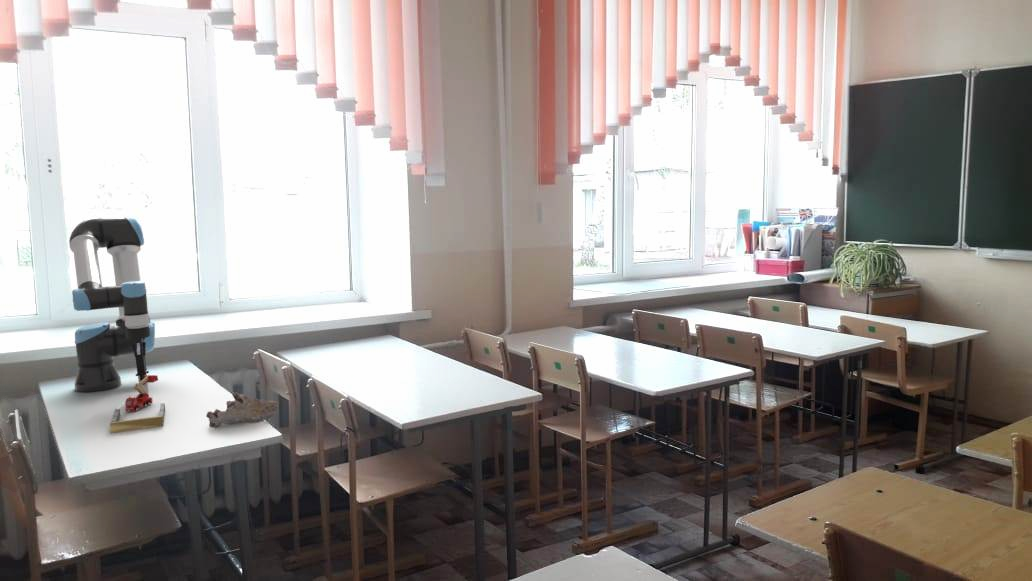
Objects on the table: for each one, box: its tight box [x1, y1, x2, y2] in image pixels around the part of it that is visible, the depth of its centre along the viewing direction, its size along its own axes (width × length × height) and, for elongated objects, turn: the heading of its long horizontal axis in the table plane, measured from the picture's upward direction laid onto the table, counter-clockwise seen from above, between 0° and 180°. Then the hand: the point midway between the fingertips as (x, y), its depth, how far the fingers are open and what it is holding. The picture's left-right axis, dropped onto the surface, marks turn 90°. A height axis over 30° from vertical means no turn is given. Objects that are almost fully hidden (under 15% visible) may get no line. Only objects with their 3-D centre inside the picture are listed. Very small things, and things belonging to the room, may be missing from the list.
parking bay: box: [109, 402, 166, 434], centre depth 243 cm, size 18×14×3 cm
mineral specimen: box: [205, 391, 280, 428], centre depth 240 cm, size 20×10×10 cm
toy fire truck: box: [124, 374, 159, 413], centre depth 259 cm, size 3×14×10 cm, turn 168°
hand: (144, 392), depth 269 cm, fingers closed
